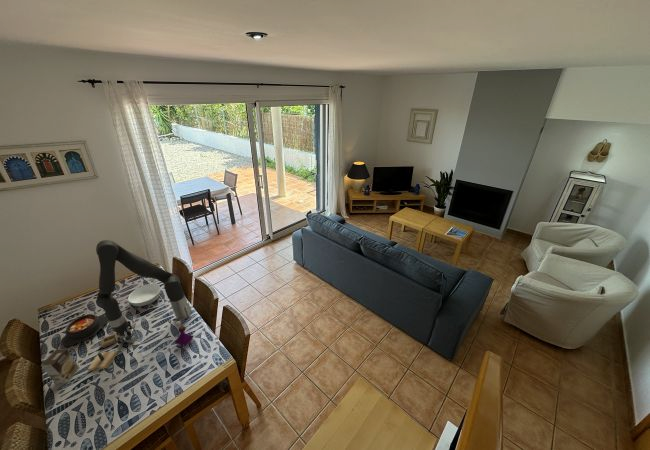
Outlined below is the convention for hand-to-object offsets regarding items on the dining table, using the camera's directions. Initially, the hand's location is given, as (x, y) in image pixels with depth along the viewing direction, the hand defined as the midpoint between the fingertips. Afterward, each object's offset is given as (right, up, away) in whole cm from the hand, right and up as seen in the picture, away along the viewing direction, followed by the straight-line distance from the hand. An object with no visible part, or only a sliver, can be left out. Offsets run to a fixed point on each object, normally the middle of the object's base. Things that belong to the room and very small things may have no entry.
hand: (128, 340), depth 163 cm
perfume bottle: (+37, -1, 0) cm, 37 cm away
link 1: (-11, -1, 0) cm, 11 cm away
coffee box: (-20, -11, -19) cm, 29 cm away
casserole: (-33, +2, +7) cm, 34 cm away
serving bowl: (-10, +16, +33) cm, 38 cm away
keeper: (-6, -7, -11) cm, 14 cm away
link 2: (0, -1, 0) cm, 1 cm away
